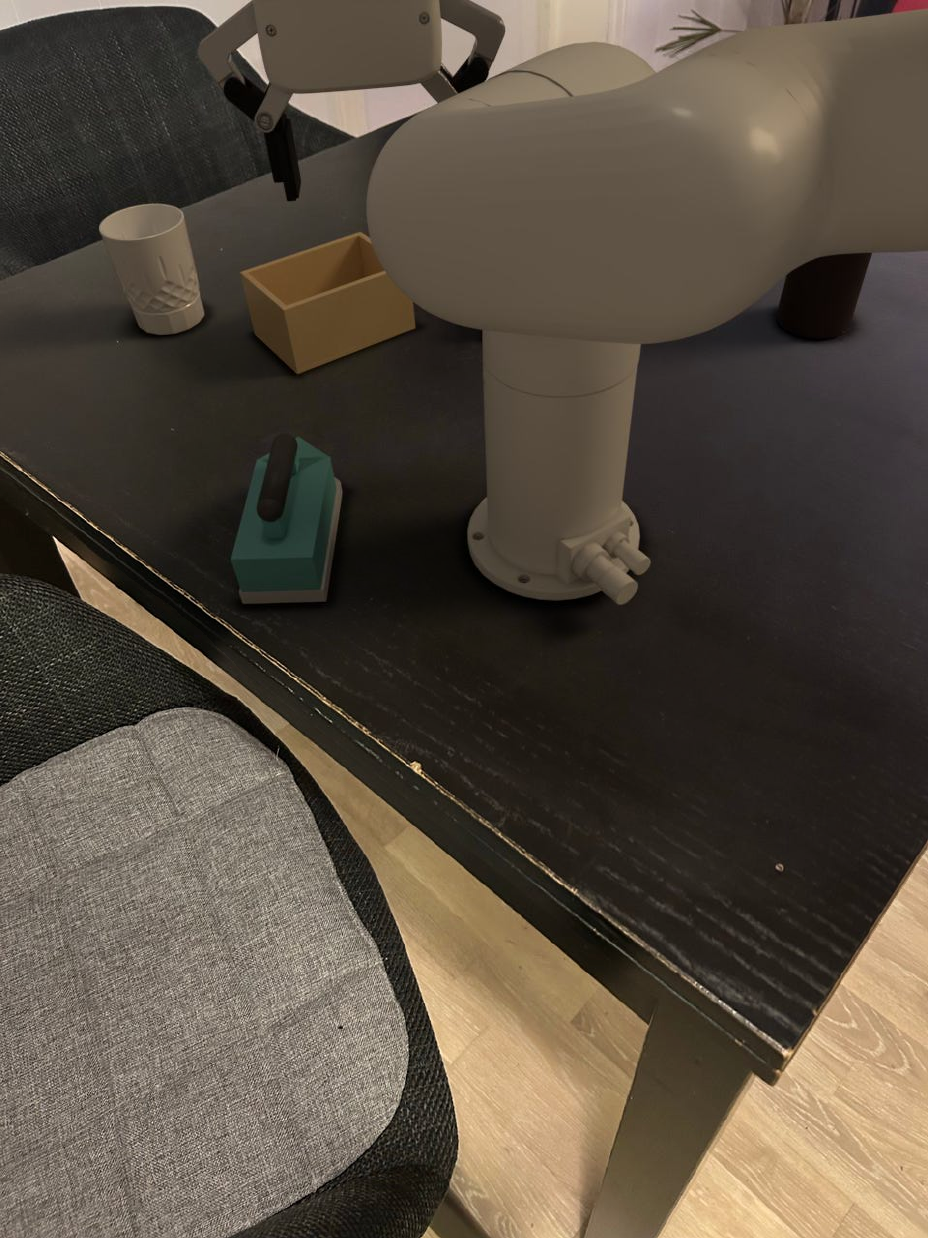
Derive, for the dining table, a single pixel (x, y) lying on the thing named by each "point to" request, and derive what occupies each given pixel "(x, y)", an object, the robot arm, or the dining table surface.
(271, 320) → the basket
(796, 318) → the bottle
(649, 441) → the dining table surface
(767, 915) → the dining table surface
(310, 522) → the iron
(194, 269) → the white cup
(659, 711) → the dining table surface
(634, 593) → the robot arm
